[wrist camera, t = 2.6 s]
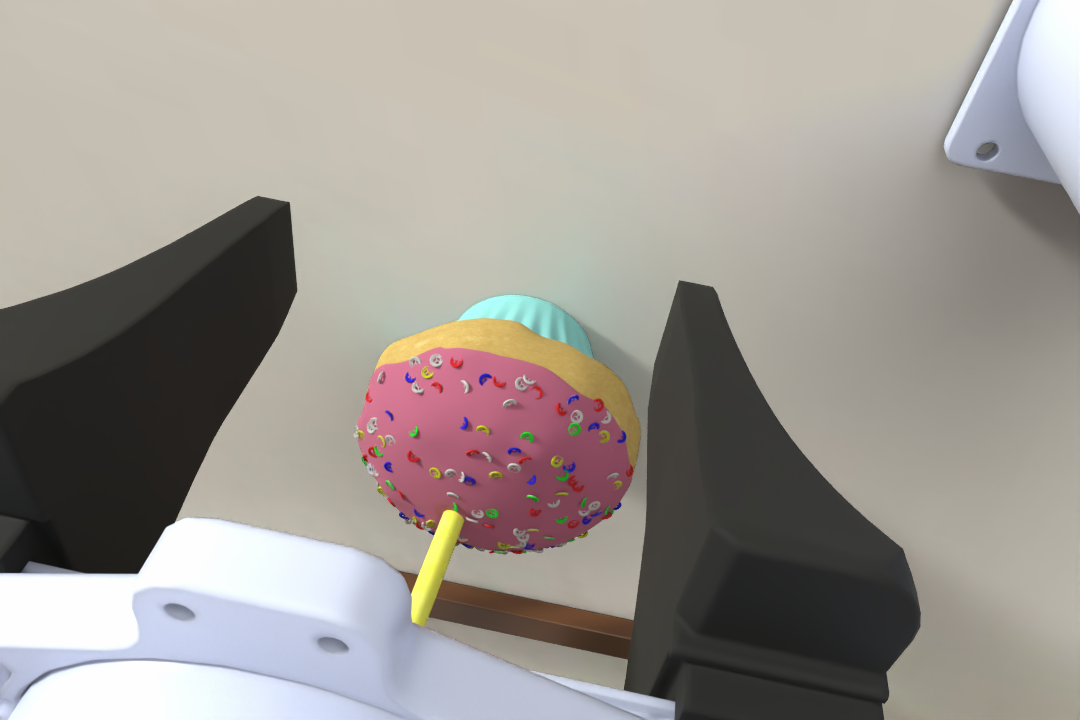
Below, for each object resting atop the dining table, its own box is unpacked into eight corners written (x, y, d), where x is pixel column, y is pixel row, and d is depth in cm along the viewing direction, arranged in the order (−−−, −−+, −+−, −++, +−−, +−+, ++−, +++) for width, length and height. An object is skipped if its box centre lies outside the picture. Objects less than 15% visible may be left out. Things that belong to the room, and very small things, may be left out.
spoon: (826, 639, 38) (829, 663, 37) (789, 693, 41) (790, 718, 40) (336, 535, 38) (327, 558, 37) (340, 598, 42) (332, 620, 41)
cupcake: (531, 465, 33) (462, 782, 24) (352, 336, 30) (197, 643, 21) (701, 355, 28) (691, 702, 19) (506, 188, 25) (388, 509, 16)
